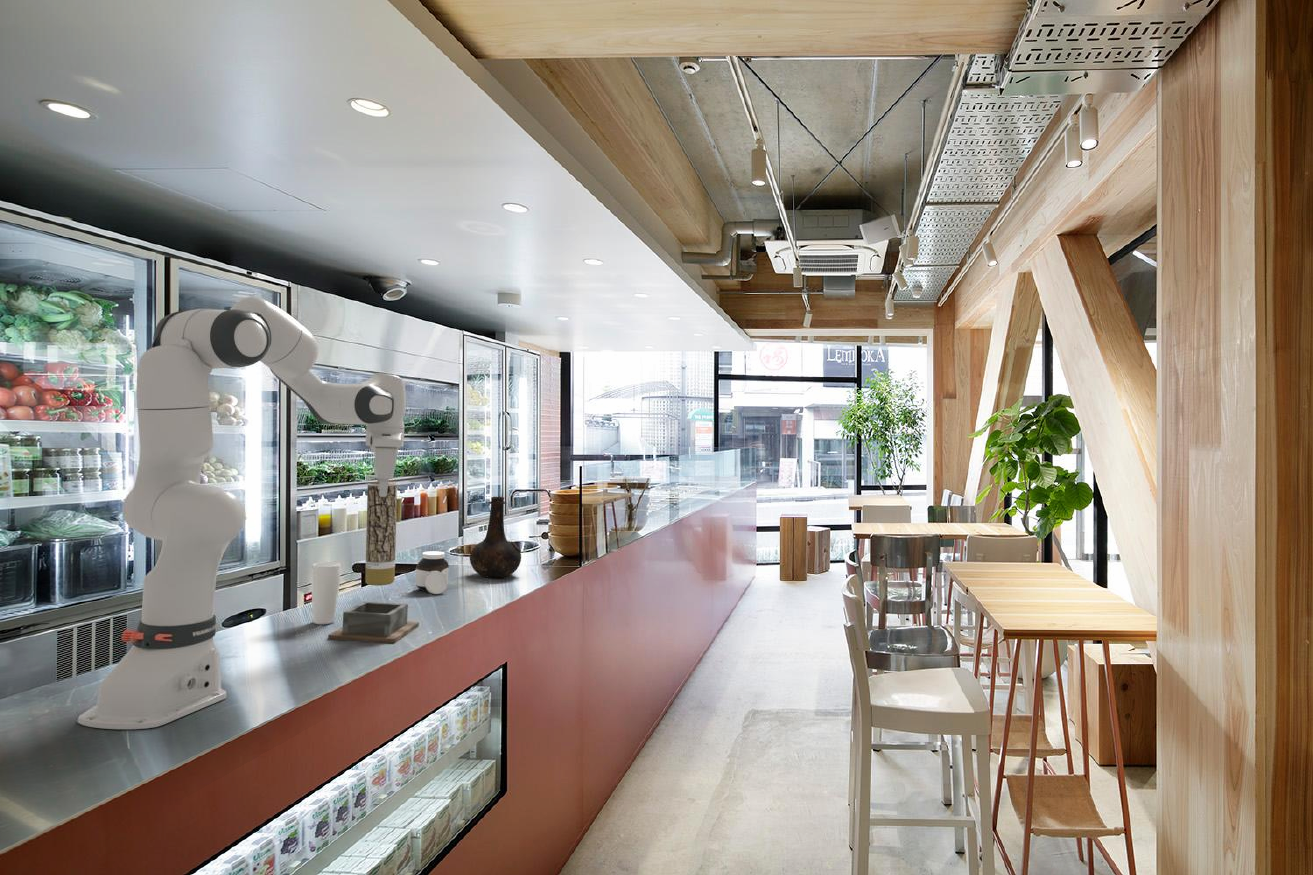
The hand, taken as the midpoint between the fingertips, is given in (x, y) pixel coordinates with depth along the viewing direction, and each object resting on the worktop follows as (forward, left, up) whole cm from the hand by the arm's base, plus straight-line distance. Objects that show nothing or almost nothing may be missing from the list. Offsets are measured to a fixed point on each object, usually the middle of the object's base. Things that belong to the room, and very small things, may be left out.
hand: (382, 495), depth 180 cm
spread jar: (+49, +2, -34) cm, 60 cm away
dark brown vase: (+78, -10, -34) cm, 86 cm away
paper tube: (0, -1, -22) cm, 22 cm away
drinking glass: (+6, +16, -34) cm, 38 cm away
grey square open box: (0, 0, -34) cm, 34 cm away
